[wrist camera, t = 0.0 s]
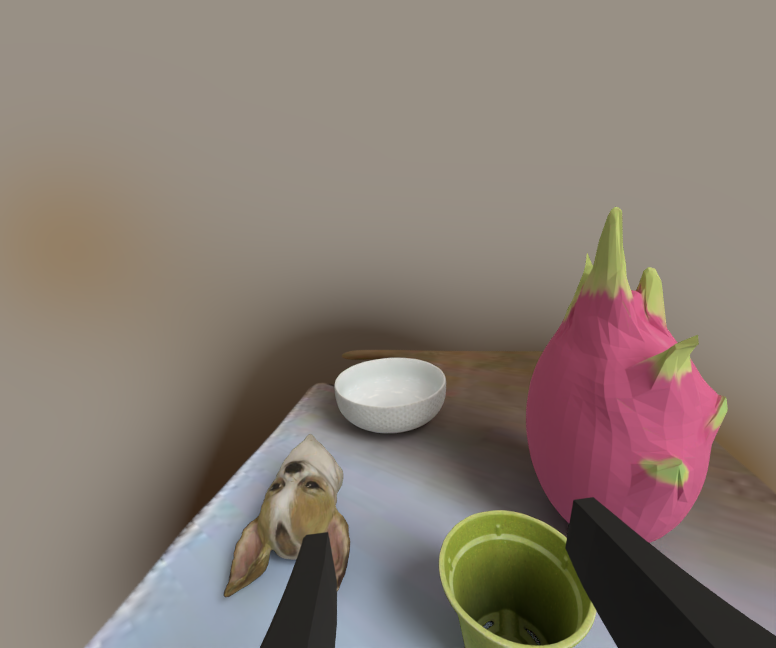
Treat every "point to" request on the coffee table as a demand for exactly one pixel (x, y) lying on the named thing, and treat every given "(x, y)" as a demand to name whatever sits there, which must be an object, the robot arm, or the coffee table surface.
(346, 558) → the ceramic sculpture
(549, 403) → the pink dragon fruit
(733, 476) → the coffee table surface
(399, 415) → the cereal bowl
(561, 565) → the plant pot
